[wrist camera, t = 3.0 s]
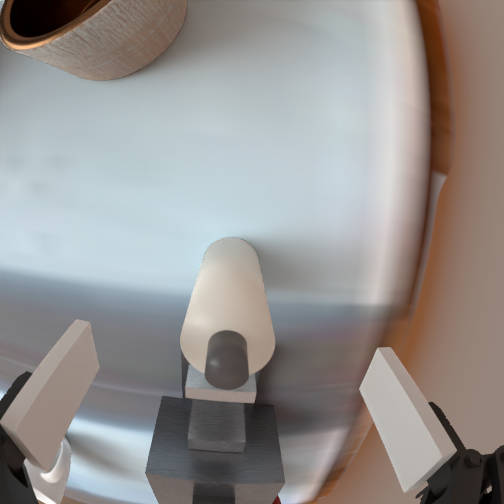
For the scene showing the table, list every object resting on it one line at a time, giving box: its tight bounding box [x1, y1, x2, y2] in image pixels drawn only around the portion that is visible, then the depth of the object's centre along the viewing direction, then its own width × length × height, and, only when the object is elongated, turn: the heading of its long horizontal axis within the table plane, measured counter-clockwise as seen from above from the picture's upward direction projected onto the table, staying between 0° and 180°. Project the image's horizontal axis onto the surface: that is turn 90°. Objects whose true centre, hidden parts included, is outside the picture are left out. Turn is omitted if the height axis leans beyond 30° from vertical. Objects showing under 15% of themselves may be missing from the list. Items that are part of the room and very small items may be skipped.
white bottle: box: [180, 237, 275, 390], centre depth 16 cm, size 4×4×12 cm
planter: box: [0, 0, 187, 81], centre depth 10 cm, size 11×11×10 cm
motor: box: [145, 349, 285, 504], centre depth 22 cm, size 22×12×12 cm, turn 173°
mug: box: [24, 436, 71, 504], centre depth 24 cm, size 15×11×13 cm
